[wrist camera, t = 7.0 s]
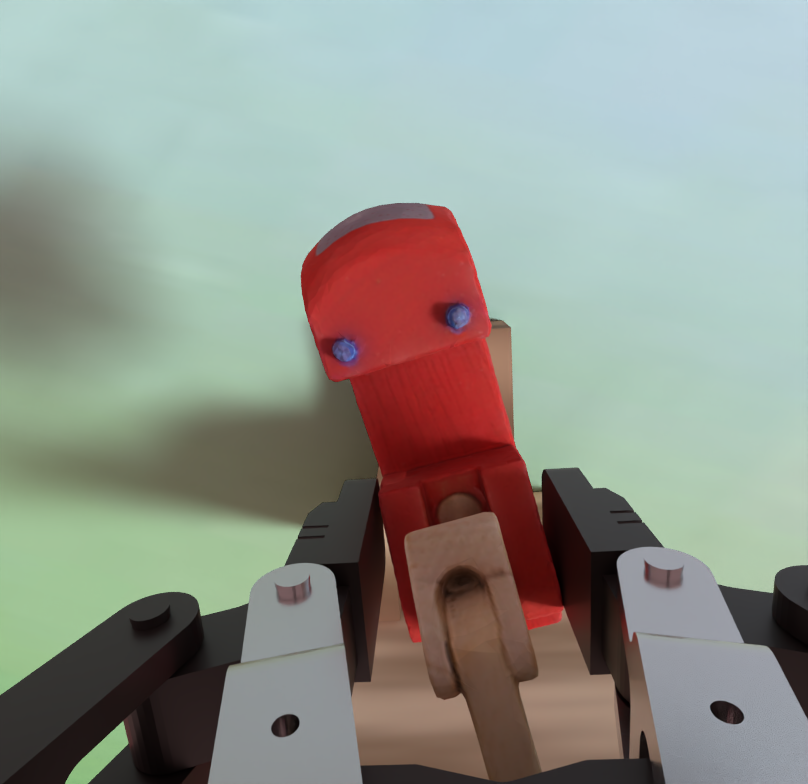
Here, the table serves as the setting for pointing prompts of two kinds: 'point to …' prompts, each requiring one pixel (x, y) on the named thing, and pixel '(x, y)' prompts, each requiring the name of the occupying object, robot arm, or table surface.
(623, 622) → the robot arm
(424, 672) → the board
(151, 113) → the table surface
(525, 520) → the toy fire truck
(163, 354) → the table surface
